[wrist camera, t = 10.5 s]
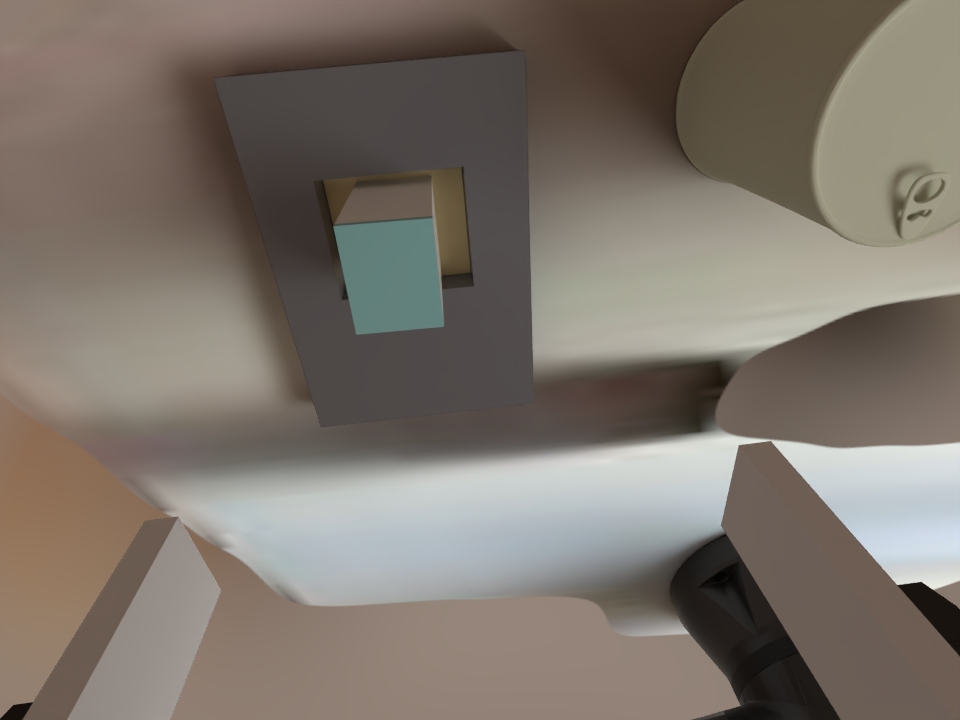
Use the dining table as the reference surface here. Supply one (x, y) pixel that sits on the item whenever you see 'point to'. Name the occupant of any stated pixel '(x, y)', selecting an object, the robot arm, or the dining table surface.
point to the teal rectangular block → (391, 255)
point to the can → (833, 112)
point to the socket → (458, 208)
